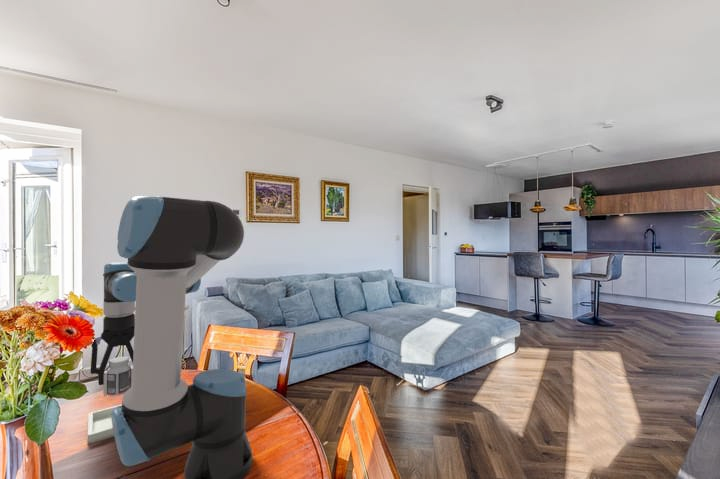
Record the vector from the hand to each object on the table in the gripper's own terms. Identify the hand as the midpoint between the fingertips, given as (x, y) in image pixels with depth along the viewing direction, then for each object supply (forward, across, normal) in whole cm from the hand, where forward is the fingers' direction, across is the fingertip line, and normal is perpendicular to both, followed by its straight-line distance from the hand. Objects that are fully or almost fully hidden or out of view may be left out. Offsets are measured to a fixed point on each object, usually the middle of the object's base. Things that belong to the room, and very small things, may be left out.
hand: (118, 391), depth 96 cm
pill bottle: (0, 0, 0) cm, 0 cm away
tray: (+10, 0, 0) cm, 10 cm away
